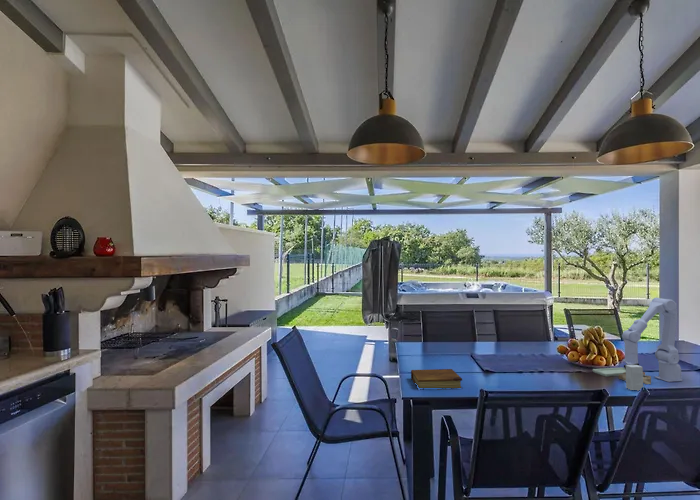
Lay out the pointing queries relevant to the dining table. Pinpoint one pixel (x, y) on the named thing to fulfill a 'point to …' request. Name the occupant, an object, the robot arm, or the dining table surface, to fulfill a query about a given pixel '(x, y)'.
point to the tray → (610, 371)
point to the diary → (436, 378)
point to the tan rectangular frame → (645, 379)
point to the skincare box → (634, 377)
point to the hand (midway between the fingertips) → (631, 377)
